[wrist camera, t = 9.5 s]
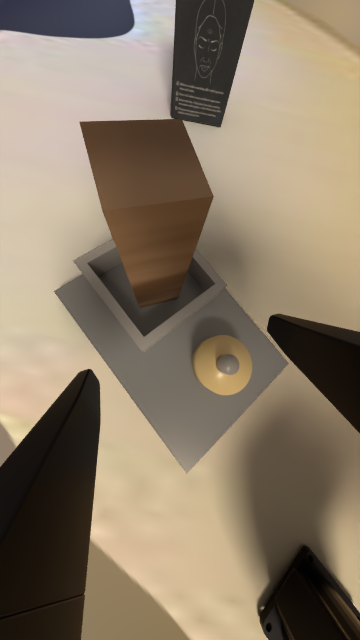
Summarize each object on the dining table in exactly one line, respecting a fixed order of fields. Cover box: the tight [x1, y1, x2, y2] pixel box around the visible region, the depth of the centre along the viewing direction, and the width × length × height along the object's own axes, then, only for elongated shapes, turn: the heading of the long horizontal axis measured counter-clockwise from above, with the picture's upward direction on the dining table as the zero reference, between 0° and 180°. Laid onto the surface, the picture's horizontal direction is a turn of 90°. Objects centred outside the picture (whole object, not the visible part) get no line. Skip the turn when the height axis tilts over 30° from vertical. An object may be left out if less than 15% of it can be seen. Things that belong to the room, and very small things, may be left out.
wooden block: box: [80, 119, 214, 308], centre depth 11 cm, size 4×4×11 cm
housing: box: [54, 239, 289, 474], centre depth 15 cm, size 20×14×4 cm
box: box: [171, 0, 254, 127], centre depth 20 cm, size 8×6×11 cm
